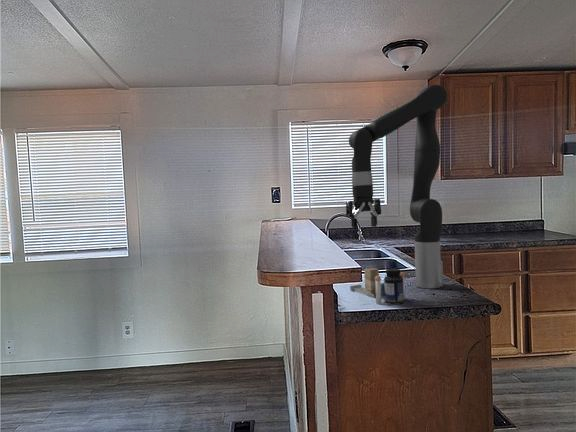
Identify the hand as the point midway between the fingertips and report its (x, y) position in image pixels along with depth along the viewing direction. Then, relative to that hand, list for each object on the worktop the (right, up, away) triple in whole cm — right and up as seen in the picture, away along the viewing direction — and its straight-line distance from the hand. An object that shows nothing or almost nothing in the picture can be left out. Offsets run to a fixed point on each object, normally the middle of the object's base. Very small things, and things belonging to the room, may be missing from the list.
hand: (364, 227), depth 168 cm
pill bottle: (+7, -25, -18) cm, 31 cm away
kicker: (+3, -23, -10) cm, 25 cm away
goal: (+6, -24, -16) cm, 30 cm away
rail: (0, -24, -4) cm, 24 cm away
